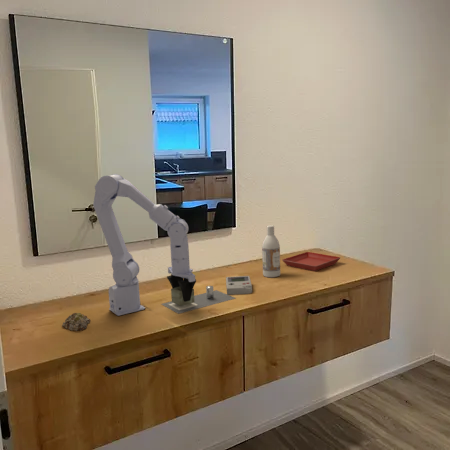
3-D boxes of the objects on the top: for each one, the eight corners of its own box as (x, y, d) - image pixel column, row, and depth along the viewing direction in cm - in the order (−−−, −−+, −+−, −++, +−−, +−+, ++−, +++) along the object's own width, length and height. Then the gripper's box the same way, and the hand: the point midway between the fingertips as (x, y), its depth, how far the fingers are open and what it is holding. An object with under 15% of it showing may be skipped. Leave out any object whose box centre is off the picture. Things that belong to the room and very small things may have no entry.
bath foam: (270, 278, 177) (269, 228, 174) (259, 275, 182) (257, 226, 179) (284, 275, 181) (282, 225, 178) (272, 272, 186) (271, 223, 183)
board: (178, 316, 140) (178, 313, 140) (161, 306, 150) (160, 303, 150) (236, 301, 153) (236, 297, 152) (216, 292, 162) (216, 289, 162)
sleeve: (179, 306, 144) (179, 292, 143) (171, 301, 149) (170, 288, 148) (194, 302, 147) (193, 288, 146) (186, 298, 152) (185, 285, 151)
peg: (209, 299, 152) (208, 288, 151) (205, 298, 154) (204, 286, 153) (215, 298, 153) (214, 286, 153) (211, 296, 155) (210, 285, 155)
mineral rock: (57, 316, 139) (83, 304, 143) (63, 328, 141) (88, 316, 144) (63, 329, 130) (90, 316, 133) (69, 341, 131) (95, 328, 135)
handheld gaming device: (226, 298, 157) (226, 287, 156) (226, 285, 171) (225, 276, 171) (252, 297, 157) (252, 287, 156) (249, 285, 172) (249, 275, 171)
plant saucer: (315, 273, 183) (315, 265, 182) (281, 266, 196) (281, 259, 195) (341, 264, 195) (341, 257, 194) (307, 258, 208) (307, 251, 207)
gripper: (202, 259, 142) (204, 301, 144) (180, 252, 154) (182, 290, 156) (182, 263, 138) (185, 306, 140) (161, 255, 150) (163, 295, 152)
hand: (182, 298), depth 148 cm, fingers closed on sleeve, 5 cm apart
